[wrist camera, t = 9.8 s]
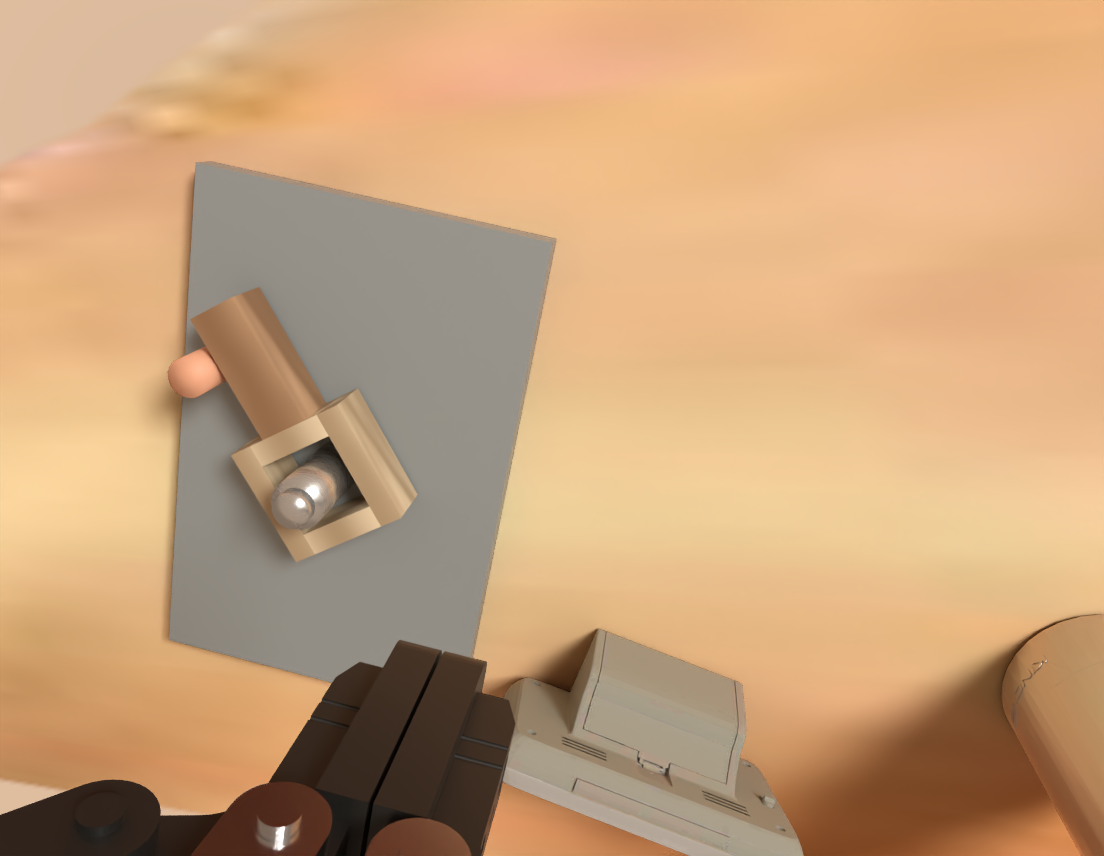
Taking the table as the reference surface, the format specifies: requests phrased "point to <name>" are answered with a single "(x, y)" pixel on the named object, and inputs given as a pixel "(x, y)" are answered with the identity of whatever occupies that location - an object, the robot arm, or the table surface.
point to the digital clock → (647, 753)
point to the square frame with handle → (300, 424)
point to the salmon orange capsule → (195, 374)
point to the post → (311, 489)
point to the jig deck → (393, 398)
